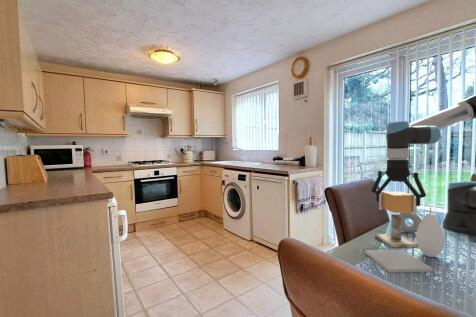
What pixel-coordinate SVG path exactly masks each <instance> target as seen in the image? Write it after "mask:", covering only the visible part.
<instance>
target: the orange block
mask: <svg viewBox="0 0 476 317" xmlns="http://www.w3.org/2000/svg"><path fill="white" fill-rule="evenodd" d="M381 194H382V208H383V209H384V210H387V211H389V212H392V214H400V213H406V212H413V208H414V197H415V195H414V194H413V193H412V194H411V193H408V192H405V191H398V190H397V191H395V190H394V191H382V192H381ZM383 209H382V210H383Z"/></svg>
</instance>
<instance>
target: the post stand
mask: <svg viewBox="0 0 476 317" xmlns="http://www.w3.org/2000/svg"><path fill="white" fill-rule="evenodd" d="M398 214H399V213H392V214H391V215H390V216H391V217H390V219H391V220H390V221H391V222H390V224H391V226H390V229H391V230H390V233H380V234H379V233H378V234H375V236H374V238H377V239H378V240H379V241H381V242H382V243H384V244H386V245H388V246H389V247H391V248H419V247H418V244H417V241H415V240H413V239H411V238H409V237H407V236H405V235H403V234H402V232H403V230H402V215H398Z"/></svg>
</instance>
